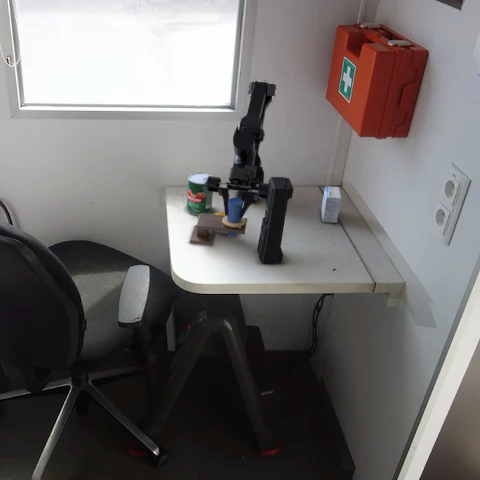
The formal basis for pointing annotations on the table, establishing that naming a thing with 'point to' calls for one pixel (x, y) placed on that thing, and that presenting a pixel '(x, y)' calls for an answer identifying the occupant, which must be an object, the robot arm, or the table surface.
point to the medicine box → (331, 204)
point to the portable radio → (274, 220)
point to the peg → (234, 215)
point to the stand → (212, 228)
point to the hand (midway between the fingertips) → (233, 216)
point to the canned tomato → (198, 194)
